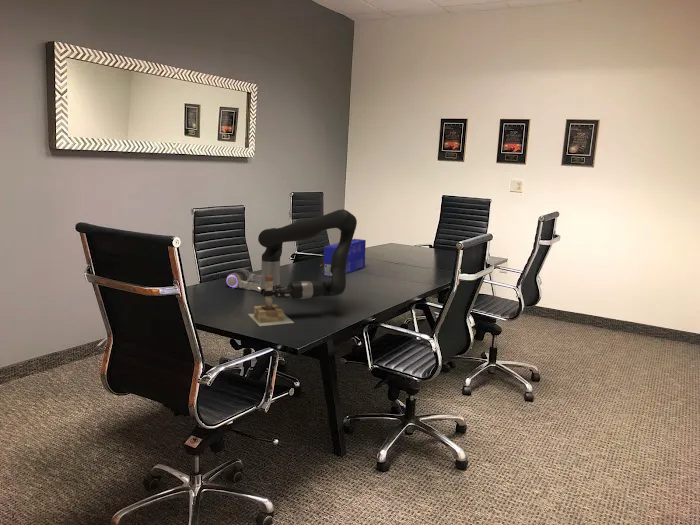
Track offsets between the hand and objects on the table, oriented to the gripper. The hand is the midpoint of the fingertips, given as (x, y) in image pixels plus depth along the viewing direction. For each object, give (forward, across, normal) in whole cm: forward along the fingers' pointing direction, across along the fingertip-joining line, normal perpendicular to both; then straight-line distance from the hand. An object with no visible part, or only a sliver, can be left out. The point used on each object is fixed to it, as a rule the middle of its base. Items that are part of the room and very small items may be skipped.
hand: (262, 292), depth 230 cm
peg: (-3, 0, +9) cm, 9 cm away
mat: (-4, 0, +12) cm, 13 cm away
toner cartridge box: (-77, -82, +12) cm, 113 cm away
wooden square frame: (-3, 0, +12) cm, 12 cm away
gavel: (-76, -106, +13) cm, 131 cm away
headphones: (-11, -61, +13) cm, 63 cm away
